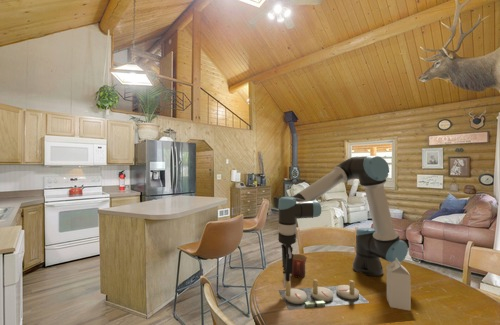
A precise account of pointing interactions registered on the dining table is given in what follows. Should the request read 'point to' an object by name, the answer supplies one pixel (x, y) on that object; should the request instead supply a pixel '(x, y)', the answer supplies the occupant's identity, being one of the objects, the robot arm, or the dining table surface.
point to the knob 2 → (348, 290)
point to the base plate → (315, 303)
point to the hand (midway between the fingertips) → (286, 286)
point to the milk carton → (398, 286)
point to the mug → (298, 265)
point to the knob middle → (321, 292)
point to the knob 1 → (294, 294)
